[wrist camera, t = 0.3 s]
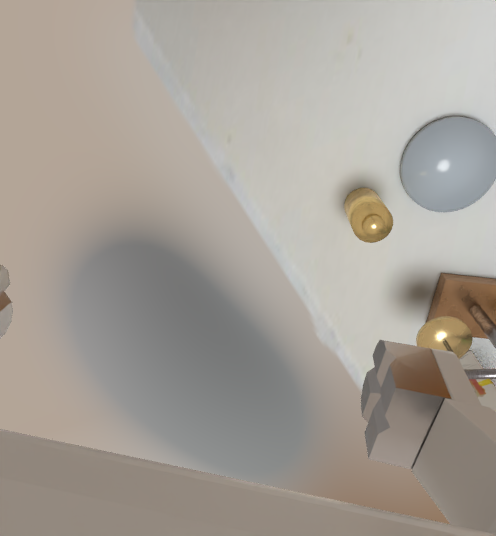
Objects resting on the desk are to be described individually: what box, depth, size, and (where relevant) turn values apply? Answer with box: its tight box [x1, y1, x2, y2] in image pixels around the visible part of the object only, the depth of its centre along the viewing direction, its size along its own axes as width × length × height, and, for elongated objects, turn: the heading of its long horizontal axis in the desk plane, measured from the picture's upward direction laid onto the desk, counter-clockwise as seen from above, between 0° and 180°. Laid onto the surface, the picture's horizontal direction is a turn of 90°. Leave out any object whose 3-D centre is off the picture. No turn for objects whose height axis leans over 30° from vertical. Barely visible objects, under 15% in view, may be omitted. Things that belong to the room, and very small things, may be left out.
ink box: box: [459, 351, 496, 412], centre depth 61 cm, size 9×5×12 cm, turn 32°
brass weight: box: [344, 188, 393, 243], centre depth 53 cm, size 4×4×8 cm
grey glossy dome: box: [400, 116, 496, 212], centre depth 53 cm, size 11×11×1 cm
